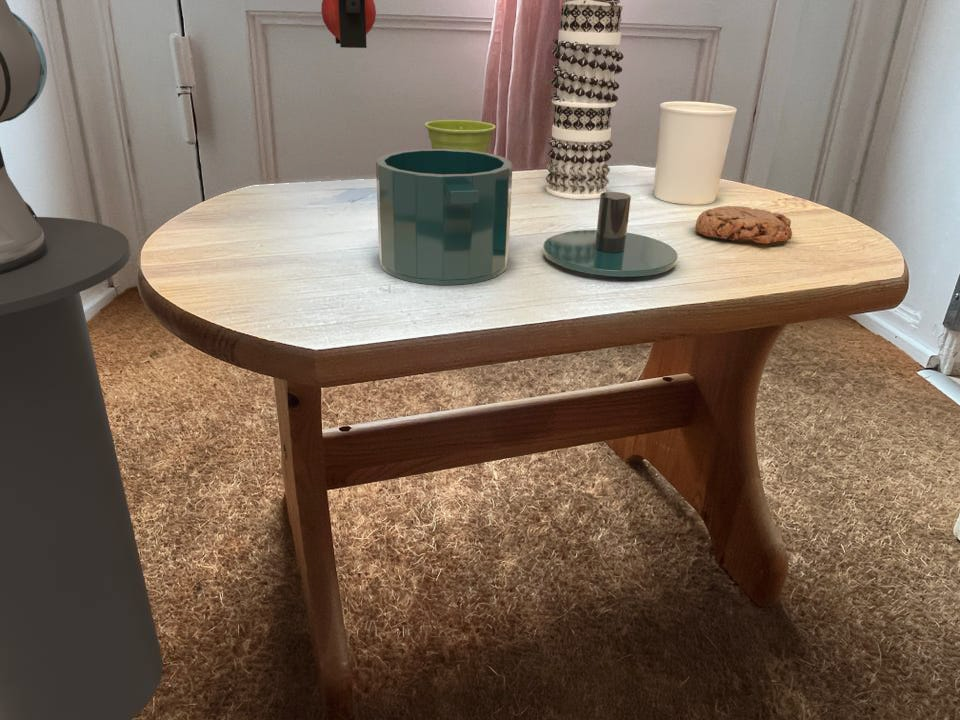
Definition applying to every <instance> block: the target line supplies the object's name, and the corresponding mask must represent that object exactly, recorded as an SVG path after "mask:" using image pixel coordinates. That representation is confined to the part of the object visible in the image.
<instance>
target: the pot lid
mask: <svg viewBox="0 0 960 720" xmlns="http://www.w3.org/2000/svg"><path fill="white" fill-rule="evenodd" d="M631 201H632V196H631V195H630V194H628V193H624V192H620V191H619V192H618V191H607V192H605V193H602V194H601V195H600V198H599V204H598V205H599V206H598V213H597V215H598V216H597V225H596V229H584V230H583V229H582V230H572V231H566V232H561V233H557V234H555V235H552V236H549V237H548V238H547V239H546V240H545V241H544V243H543V245H542V246H543V247H542V252H543V255H544V256H545V257H546V258H547V259H548V261H550V262H552V263H554V264H556V265H558V266H560V267H563V268H565V269H569V270H572V271H575V272H580V273H584V274H590V275H598V276H606V277H617V278H618V277H622V278H623V277H625V278H626V277H627V278H629V277H631V278H632V277H646V276H652V275H653V276H654V275H657V274H661V273H665V272H668V271H669V270H671V269H673V268H674V267H675V266H676V264H677V262H678V252H677V250H676V249H675V248H674V247H672V246H670V245H669V244H667V243H666V242H664V241H661V240H659V239H656V238H653V237H650V236H646V235H642V234H637V233H633V232H628V224H629V217H630V215H629V214H630V210H631V209H630V208H631Z"/></svg>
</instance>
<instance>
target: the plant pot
mask: <svg viewBox="0 0 960 720" xmlns="http://www.w3.org/2000/svg"><path fill="white" fill-rule="evenodd" d="M424 127H425V129H427V132H428V139H429V140H430V143H431V144H430V145H431V149H455V150H470V151H477V152H484V153H488V151H489V147H490V146H489V145H490V142H491V140H492V136H493V131H495V130H496V125H495V124H493V123H490V122H489V123H488V122H484V121H479V120H467V119H440V120H431V121H427V122H425V123H424Z"/></svg>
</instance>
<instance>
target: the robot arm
mask: <svg viewBox="0 0 960 720" xmlns="http://www.w3.org/2000/svg"><path fill="white" fill-rule="evenodd" d="M338 7H339V28H340V40H339V39H337V38H336V37H335V36H334V39H335V44H337V45H339V47H340V48H345V49H346V48H347V49H367V46H368V45H367V34H366V16H365V0H338ZM47 76H48V63H47V57H46V54H45V51H44V48H43V46H42V43H41V41H40V40H39V37H38V36H37V34H36V33H35V31H34V30H33V29H32V27H30V25H29V24H27V22H26V21H25V20H24V19H23V18H21V17H20V16H19V15H18V14H16V13H15V12H13V11H12V10H11V8H10V6H9V4H8V2H7V0H0V124H1V123H5V122H10V121H13V120H15V119H17V118H19V117H20V116H21V115H22V114H25V113H26V112H27V111H28V110H29V109H30V108H31V107H32V106H33V105H34V104H35V103H36V102H37V101H38V99H39V98H40V96H41V95H42V93H43V91H44V89H45V86H46V82H47ZM35 217H36V218H37V217H38V216H37V214H36V213H35V211H34V210H33V208H32V207H31V205H29V203H28V202H26V201H25V200H24V197H22V195H21V193H20V191H19V190H18V189H17V187H16V185H15V184H14V183H13V181H12V179H11V178H10V176H9V173H8V171H7V167H6V164H5V161H4V157H3V153H2V148H1V147H0V274H3V273H7V272H10V271H13V270H16V269H19V268H22V267H24V266H27V265H29V264H31V263H33V262H35V261H37V260H38V259H40V258H41V257H42V256H43V255H45V253H46V252H47V245H46V241H45V237H44V233H43V229H42V228H41V227H40V225H39V223H38V222H37V220H36V218H35ZM37 219H38V218H37ZM38 220H39V219H38Z"/></svg>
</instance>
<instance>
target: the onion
mask: <svg viewBox="0 0 960 720" xmlns="http://www.w3.org/2000/svg"><path fill="white" fill-rule="evenodd" d="M320 11H321V16H322V21H323V23H324V25H325V27H326V28H327V30H328V31H329V32H330V33H331V34H332V35H333V36H334V38H335V37H336V38H337V39H339V40H340V28H339V7H338V0H322V2H321V10H320ZM365 16H366V35H368V33H369V32H370V31H371V30H372V29H373V26H374V24H375V22H376V16H377V11H376V4H375V1H374V0H365Z"/></svg>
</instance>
